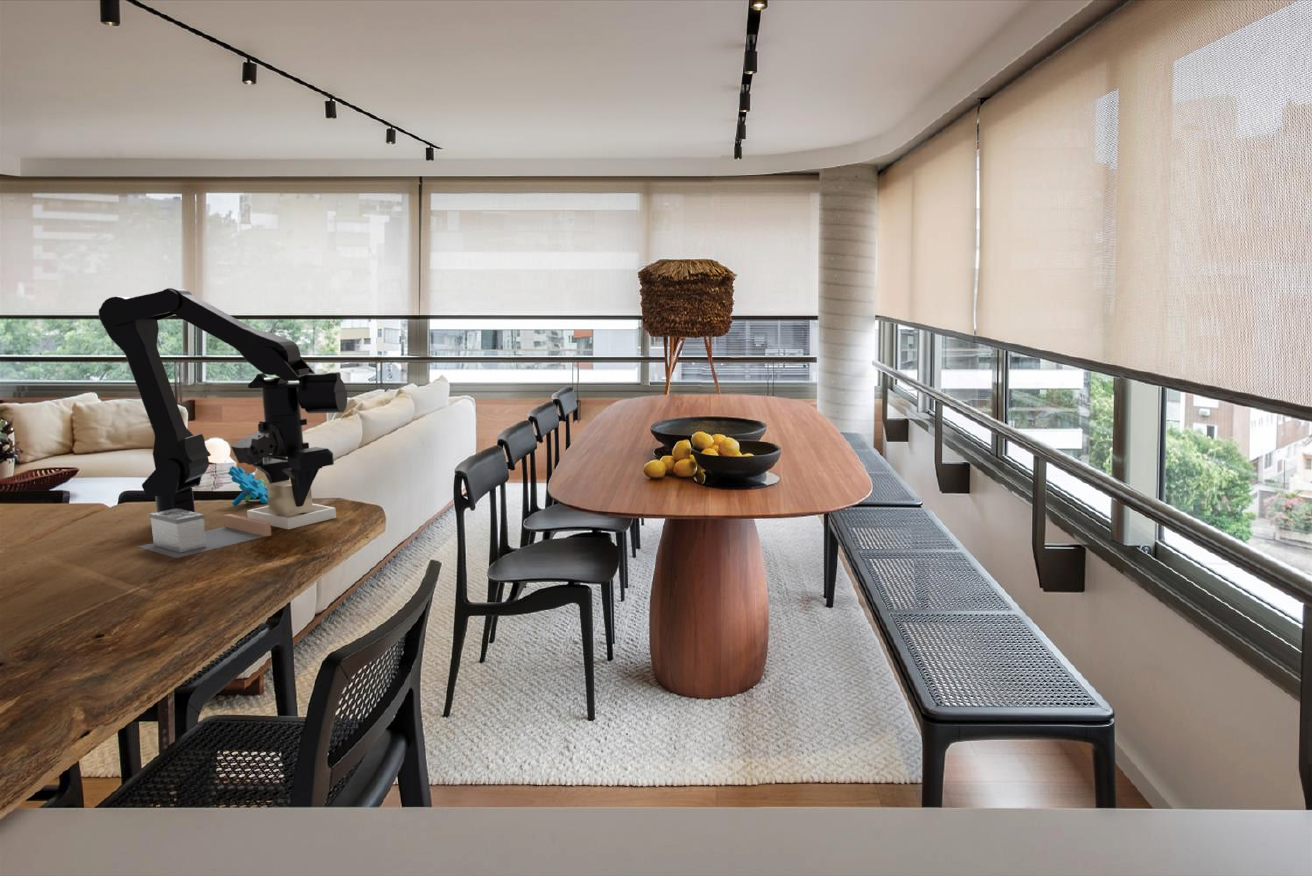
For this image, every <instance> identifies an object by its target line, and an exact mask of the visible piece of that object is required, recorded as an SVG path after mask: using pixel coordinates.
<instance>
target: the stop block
mask: <svg viewBox="0 0 1312 876" xmlns="http://www.w3.org/2000/svg"><path fill="white" fill-rule="evenodd" d="M266 488H267V493H268V502H267V503H268V506H269V513H272V514H277V516H282V517H291V516H294V515H295V516H296V515H300V514H303V513H304V512H308V511H312V510H313V507H312V504H313V497H312V486H311V487H310V490H309V492H308V495H307V497H306V499H305V502H304V504H303V506H300V507H297V506H296V504H295V500H294V496H293V490H292V485H291V480H290V479H289V480H286V481H281V482H275V483H266Z"/></svg>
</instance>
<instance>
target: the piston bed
mask: <svg viewBox="0 0 1312 876" xmlns="http://www.w3.org/2000/svg"><path fill="white" fill-rule="evenodd" d="M223 521H224V526H222V527H218V528H217V527H216V528H214V529H208V530H205V536H206V545H207V546H206V547H202V548H198V549H194V550H190V551H186V552H181V553H179V552H175V551H172V550H168V549H165V548H161V547H158V546H154V542H151V543H146V544H143V545H138V546H137V548H140V549H144V550H147V551H151V552H153V553H157V554H161V555H165V556H168V557H170V558H171V557H172V558H175V559H179V558H183V557H184V558H185V557H188V556H191V555H196V554H199V553H200V554H201V553H203V552H207V551H208V552H209V551H212V550H216V549H220V548H223V547H228V546H232V545H236V544H242V543H245V542H248V541H252V540H259V539H262V538H266V537H270V536H272V528H271V525H270V522H265V521H260V520H256V519H251V518H248V516H247V517H246V516H242V515H236V514H232V513H228V514H227V513H226V514H223Z"/></svg>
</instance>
